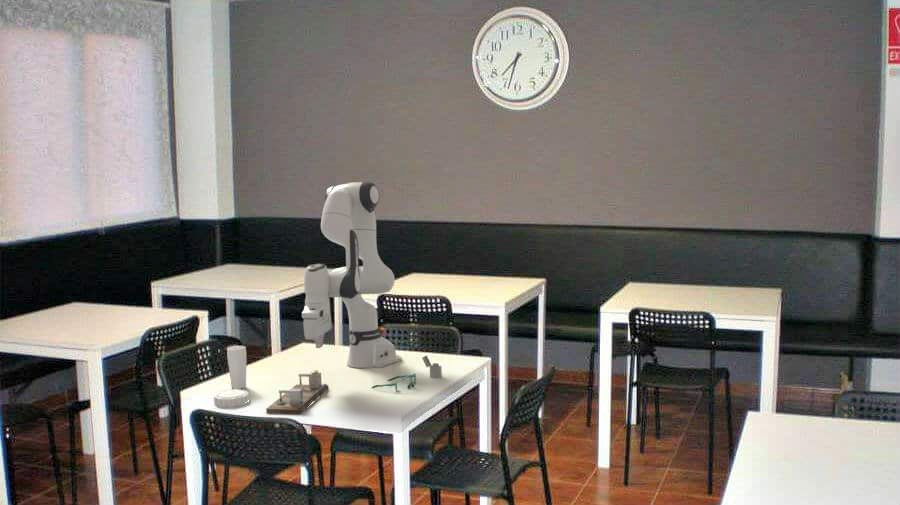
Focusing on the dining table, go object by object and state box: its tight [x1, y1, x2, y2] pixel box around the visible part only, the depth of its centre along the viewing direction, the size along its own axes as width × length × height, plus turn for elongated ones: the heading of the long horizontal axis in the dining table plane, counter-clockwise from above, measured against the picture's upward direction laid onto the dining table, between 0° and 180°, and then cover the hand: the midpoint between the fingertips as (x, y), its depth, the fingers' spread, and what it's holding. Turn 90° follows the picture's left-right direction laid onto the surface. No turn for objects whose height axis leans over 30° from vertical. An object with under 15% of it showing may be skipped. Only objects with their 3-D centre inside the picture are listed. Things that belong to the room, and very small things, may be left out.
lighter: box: [421, 355, 443, 379], centre depth 369 cm, size 7×2×8 cm, turn 69°
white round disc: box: [213, 388, 250, 408], centre depth 345 cm, size 12×12×4 cm
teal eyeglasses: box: [371, 373, 417, 393], centre depth 359 cm, size 14×15×5 cm
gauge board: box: [265, 383, 329, 415], centre depth 344 cm, size 30×12×2 cm, turn 169°
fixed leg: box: [278, 383, 328, 409], centre depth 343 cm, size 28×9×5 cm, turn 169°
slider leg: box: [298, 370, 323, 388], centre depth 354 cm, size 3×8×6 cm, turn 79°
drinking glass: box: [226, 345, 248, 389], centre depth 362 cm, size 7×7×15 cm
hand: (319, 347), depth 358 cm, fingers closed
